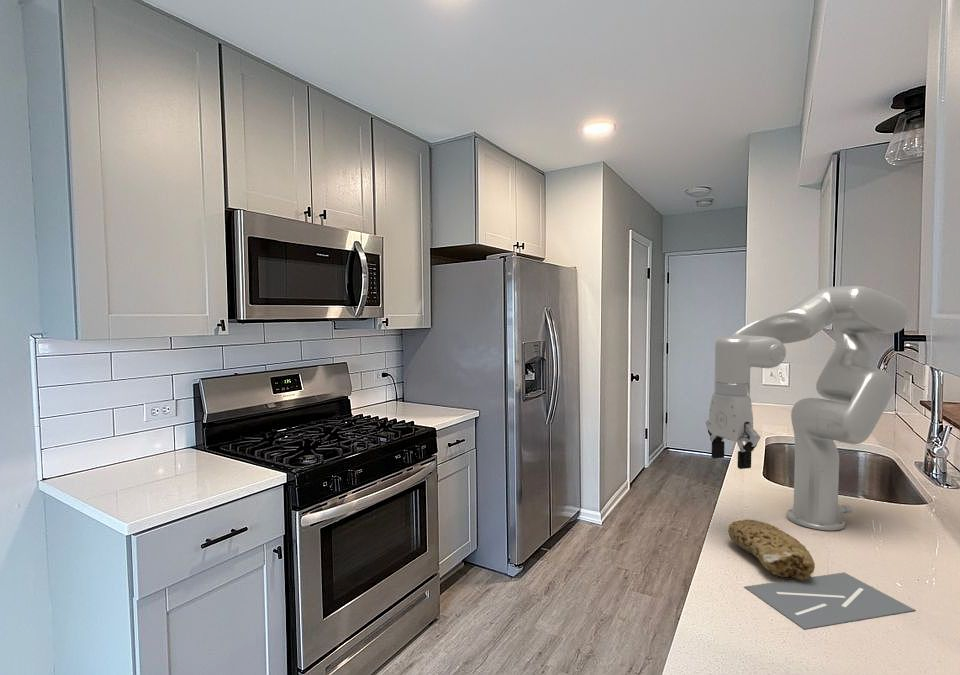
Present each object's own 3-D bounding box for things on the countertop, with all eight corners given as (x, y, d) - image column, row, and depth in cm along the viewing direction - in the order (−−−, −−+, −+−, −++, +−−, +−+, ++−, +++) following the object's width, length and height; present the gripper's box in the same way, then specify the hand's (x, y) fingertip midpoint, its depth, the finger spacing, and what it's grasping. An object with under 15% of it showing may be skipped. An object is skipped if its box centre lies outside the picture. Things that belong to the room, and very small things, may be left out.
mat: (844, 573, 107) (844, 572, 107) (915, 610, 93) (915, 609, 93) (744, 587, 101) (744, 586, 101) (804, 629, 88) (804, 628, 88)
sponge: (823, 590, 102) (785, 529, 121) (819, 555, 101) (781, 499, 120) (751, 594, 105) (725, 534, 124) (746, 560, 104) (720, 505, 123)
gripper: (694, 385, 130) (693, 454, 131) (745, 396, 113) (743, 475, 114) (720, 384, 132) (719, 452, 133) (774, 394, 115) (772, 472, 116)
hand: (730, 462), depth 123 cm, fingers open, 8 cm apart
